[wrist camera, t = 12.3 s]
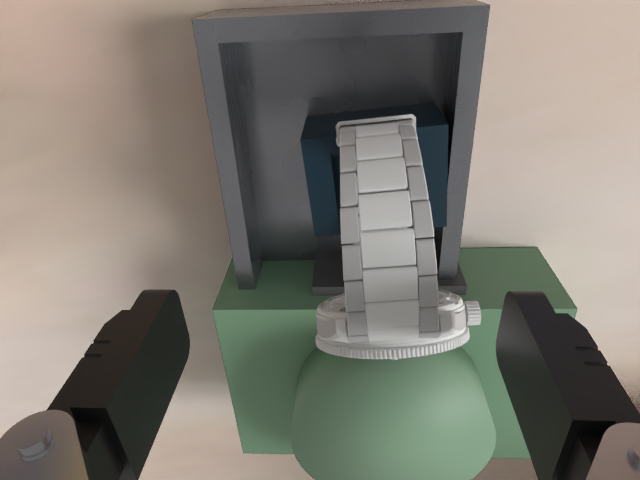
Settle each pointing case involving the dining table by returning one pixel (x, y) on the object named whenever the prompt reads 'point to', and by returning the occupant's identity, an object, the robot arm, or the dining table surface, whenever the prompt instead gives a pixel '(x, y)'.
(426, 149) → the watch
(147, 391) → the robot arm
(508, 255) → the green block with dome
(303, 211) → the frame
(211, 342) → the dining table surface
